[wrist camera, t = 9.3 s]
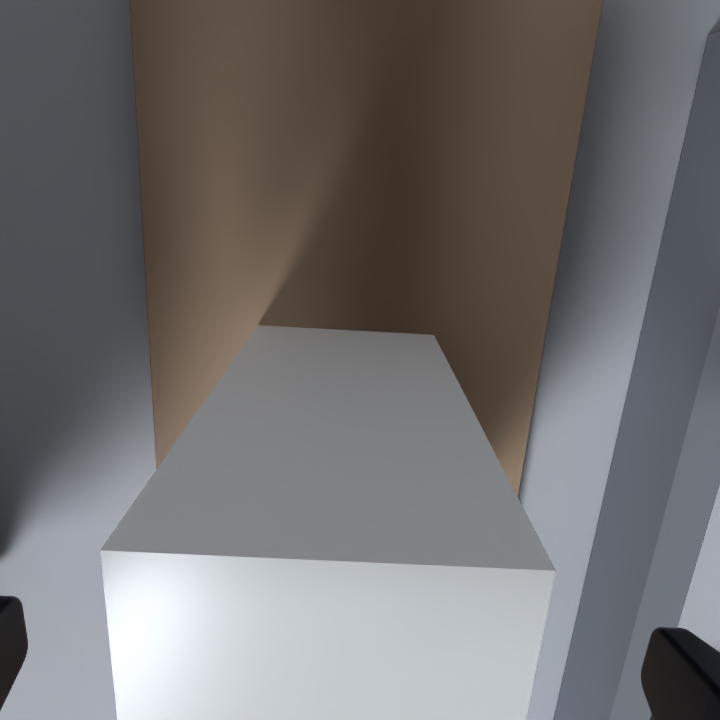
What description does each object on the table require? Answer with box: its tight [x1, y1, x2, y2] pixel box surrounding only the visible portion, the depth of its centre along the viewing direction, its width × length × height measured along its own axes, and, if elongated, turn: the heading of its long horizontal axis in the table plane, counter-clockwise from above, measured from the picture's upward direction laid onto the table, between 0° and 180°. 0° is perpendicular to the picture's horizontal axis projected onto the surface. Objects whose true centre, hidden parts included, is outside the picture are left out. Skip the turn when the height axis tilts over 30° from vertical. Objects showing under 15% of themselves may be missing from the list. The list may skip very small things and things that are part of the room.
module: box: [100, 325, 556, 720], centre depth 10 cm, size 4×6×8 cm
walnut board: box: [130, 0, 603, 497], centre depth 14 cm, size 9×20×1 cm, turn 176°
